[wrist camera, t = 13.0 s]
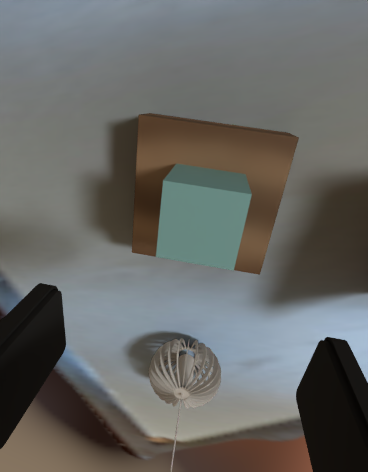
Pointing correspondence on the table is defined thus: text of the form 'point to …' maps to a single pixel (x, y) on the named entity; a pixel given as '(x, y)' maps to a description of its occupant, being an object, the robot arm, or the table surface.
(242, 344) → the table surface
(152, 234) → the walnut plinth
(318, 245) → the table surface
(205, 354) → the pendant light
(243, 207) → the teal block
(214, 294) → the table surface
